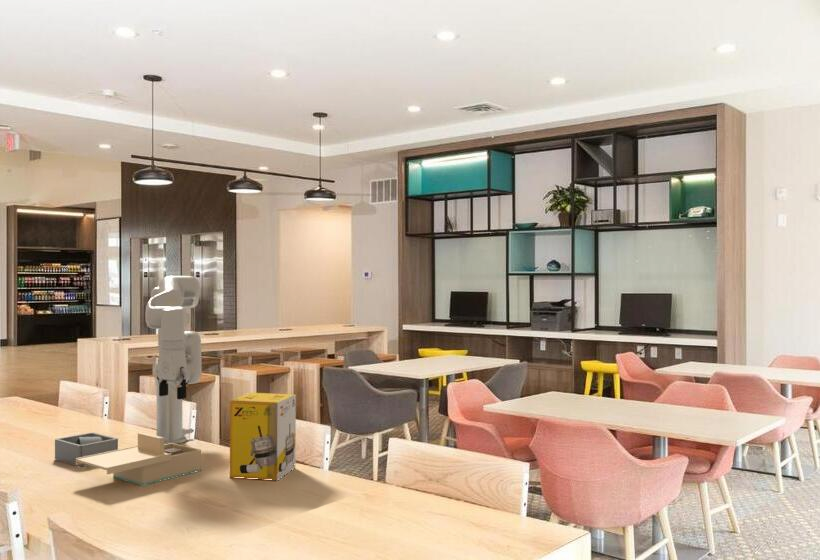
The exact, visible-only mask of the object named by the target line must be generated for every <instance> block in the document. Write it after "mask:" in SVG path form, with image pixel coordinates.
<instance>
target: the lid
mask: <svg viewBox="0 0 820 560" xmlns="http://www.w3.org/2000/svg"><path fill="white" fill-rule="evenodd" d="M168 460H171V453H170V454H169V453H165V452H164V437H159V436H156V435H154V434H151V433H150V434H149V433H146V432H137V445H135V446H130V447H129V446H128V447H124V448H118V450H114V451H109V452H104V453H99V454H94V455H89V456H84V457H79V458H76V465H79V464H87V465H86V466H91V467H94V468H97V469H102V470H105V471H106V475H111V474H112V475H113V473H116V472H120V471H125V470H129V469H134V468H138V467H142V466H147V465H151V464H155V463H160V462H164V461H168Z"/></svg>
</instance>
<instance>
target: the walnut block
mask: <svg viewBox="0 0 820 560" xmlns="http://www.w3.org/2000/svg"><path fill="white" fill-rule="evenodd" d="M164 452H165V453H169V454H170V453H171V456H173V455H178V454H182V450H181V449H177V448H171V449H167V450H164Z"/></svg>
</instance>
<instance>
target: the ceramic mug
mask: <svg viewBox="0 0 820 560" xmlns="http://www.w3.org/2000/svg"><path fill="white" fill-rule="evenodd" d="M100 441H103V439H102V438H101V437H79V438H78V439H77V442H76V444H78V445H84V444H89V443H95V442H100Z"/></svg>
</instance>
